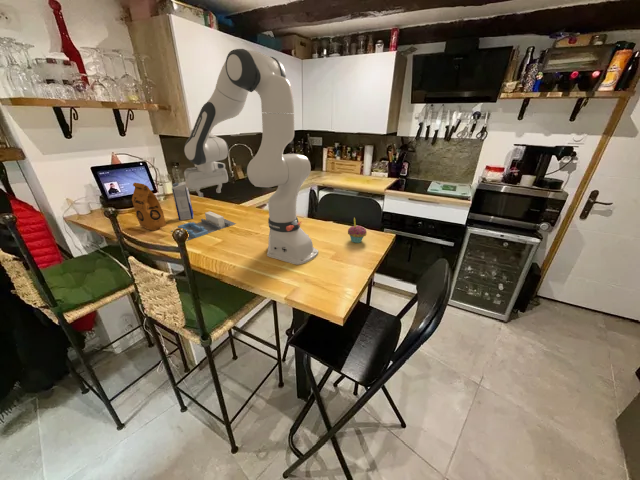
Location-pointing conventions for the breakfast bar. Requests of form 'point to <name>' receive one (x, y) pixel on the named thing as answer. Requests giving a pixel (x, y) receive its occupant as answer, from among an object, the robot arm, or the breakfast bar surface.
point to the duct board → (203, 228)
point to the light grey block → (215, 218)
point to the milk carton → (182, 201)
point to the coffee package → (147, 208)
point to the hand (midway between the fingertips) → (210, 194)
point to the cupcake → (356, 233)
